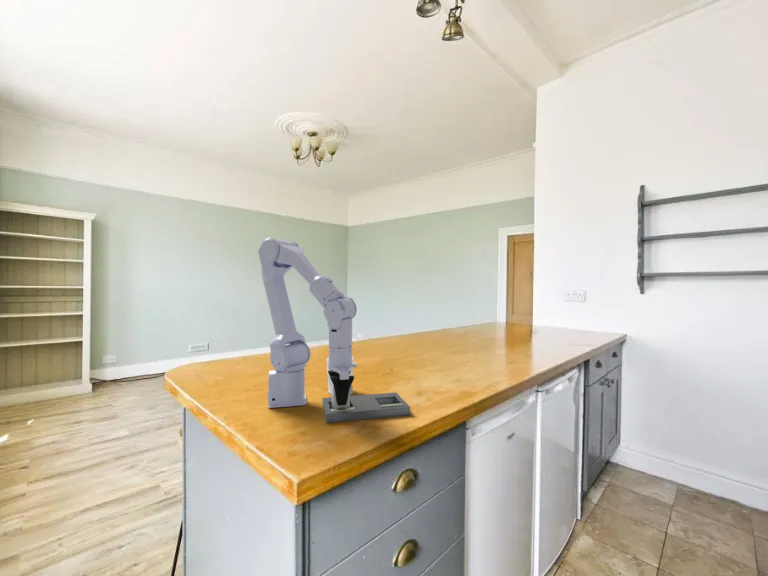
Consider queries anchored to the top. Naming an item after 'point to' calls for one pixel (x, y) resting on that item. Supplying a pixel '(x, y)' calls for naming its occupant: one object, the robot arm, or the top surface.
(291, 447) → the top surface
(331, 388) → the white cup
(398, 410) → the grey socket base
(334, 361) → the robot arm
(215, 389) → the top surface
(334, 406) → the plug
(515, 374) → the top surface
